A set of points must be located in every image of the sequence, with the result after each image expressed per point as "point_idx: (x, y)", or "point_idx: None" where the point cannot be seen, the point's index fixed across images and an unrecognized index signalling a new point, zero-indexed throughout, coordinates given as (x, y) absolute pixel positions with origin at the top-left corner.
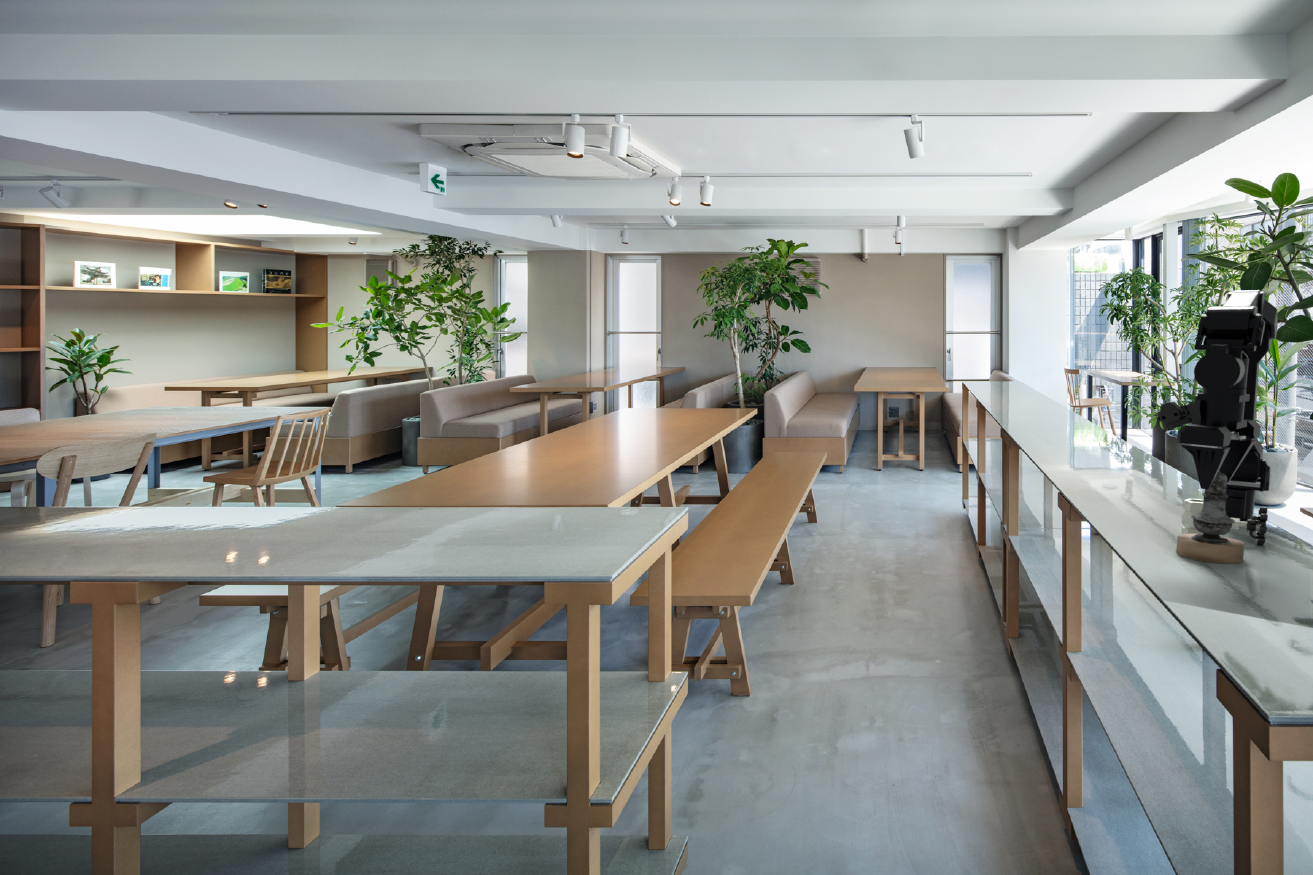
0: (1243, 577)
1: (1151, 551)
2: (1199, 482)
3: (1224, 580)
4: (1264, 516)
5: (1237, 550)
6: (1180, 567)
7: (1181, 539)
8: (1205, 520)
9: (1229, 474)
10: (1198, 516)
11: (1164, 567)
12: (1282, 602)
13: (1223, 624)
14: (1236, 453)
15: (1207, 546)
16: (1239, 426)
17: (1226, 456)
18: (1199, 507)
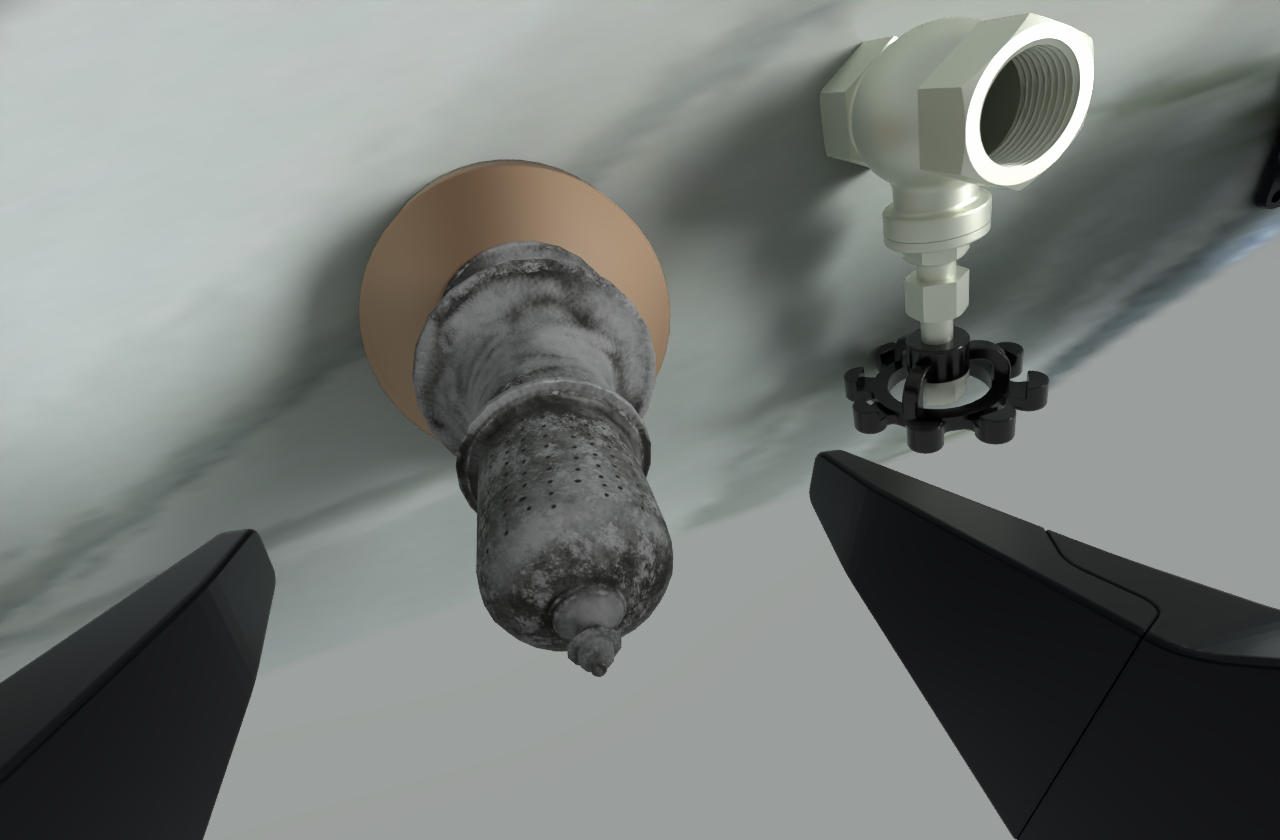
0: (275, 519)
1: (328, 59)
2: (170, 569)
3: (136, 506)
4: (915, 443)
5: None
6: (139, 315)
7: (401, 223)
8: (419, 386)
9: (849, 550)
10: (460, 331)
11: (33, 265)
12: None
13: None
14: (1032, 774)
15: (374, 373)
16: None
17: (1017, 658)
18: (940, 148)
